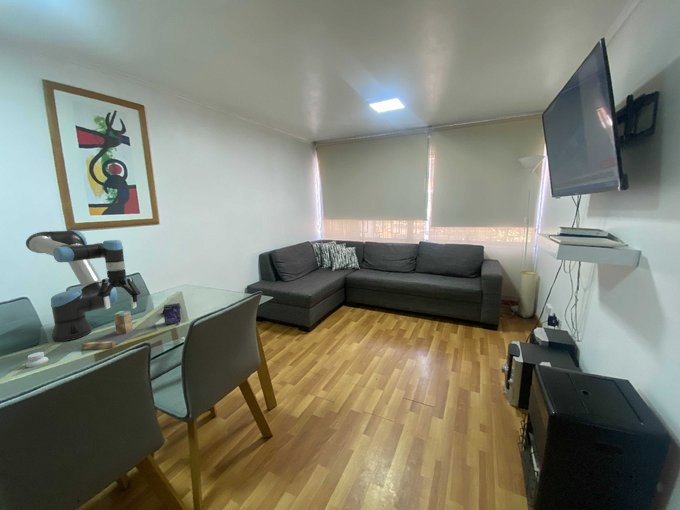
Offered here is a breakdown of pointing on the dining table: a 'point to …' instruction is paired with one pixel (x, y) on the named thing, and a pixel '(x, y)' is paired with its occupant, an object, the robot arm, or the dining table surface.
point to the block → (123, 322)
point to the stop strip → (98, 345)
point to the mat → (118, 336)
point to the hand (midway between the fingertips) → (121, 308)
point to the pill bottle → (36, 359)
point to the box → (172, 313)
